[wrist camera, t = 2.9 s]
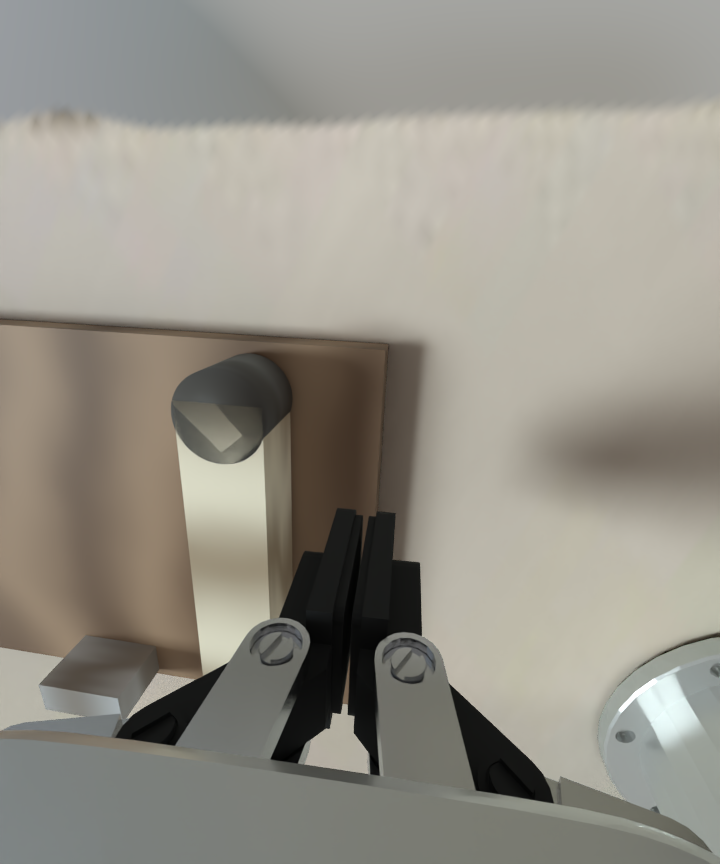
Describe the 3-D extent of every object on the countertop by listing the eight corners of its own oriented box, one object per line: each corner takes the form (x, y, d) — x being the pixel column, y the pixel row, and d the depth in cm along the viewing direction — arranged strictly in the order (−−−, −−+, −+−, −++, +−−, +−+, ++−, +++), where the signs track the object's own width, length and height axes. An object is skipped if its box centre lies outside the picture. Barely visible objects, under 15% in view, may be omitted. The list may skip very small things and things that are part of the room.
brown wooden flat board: (388, 343, 17) (376, 366, 13) (367, 681, 23) (353, 769, 19) (-168, 308, 20) (-323, 317, 16) (-57, 614, 26) (-147, 678, 22)
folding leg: (295, 664, 21) (273, 730, 18) (233, 654, 22) (201, 717, 19) (292, 356, 16) (260, 375, 13) (209, 350, 16) (159, 368, 13)
